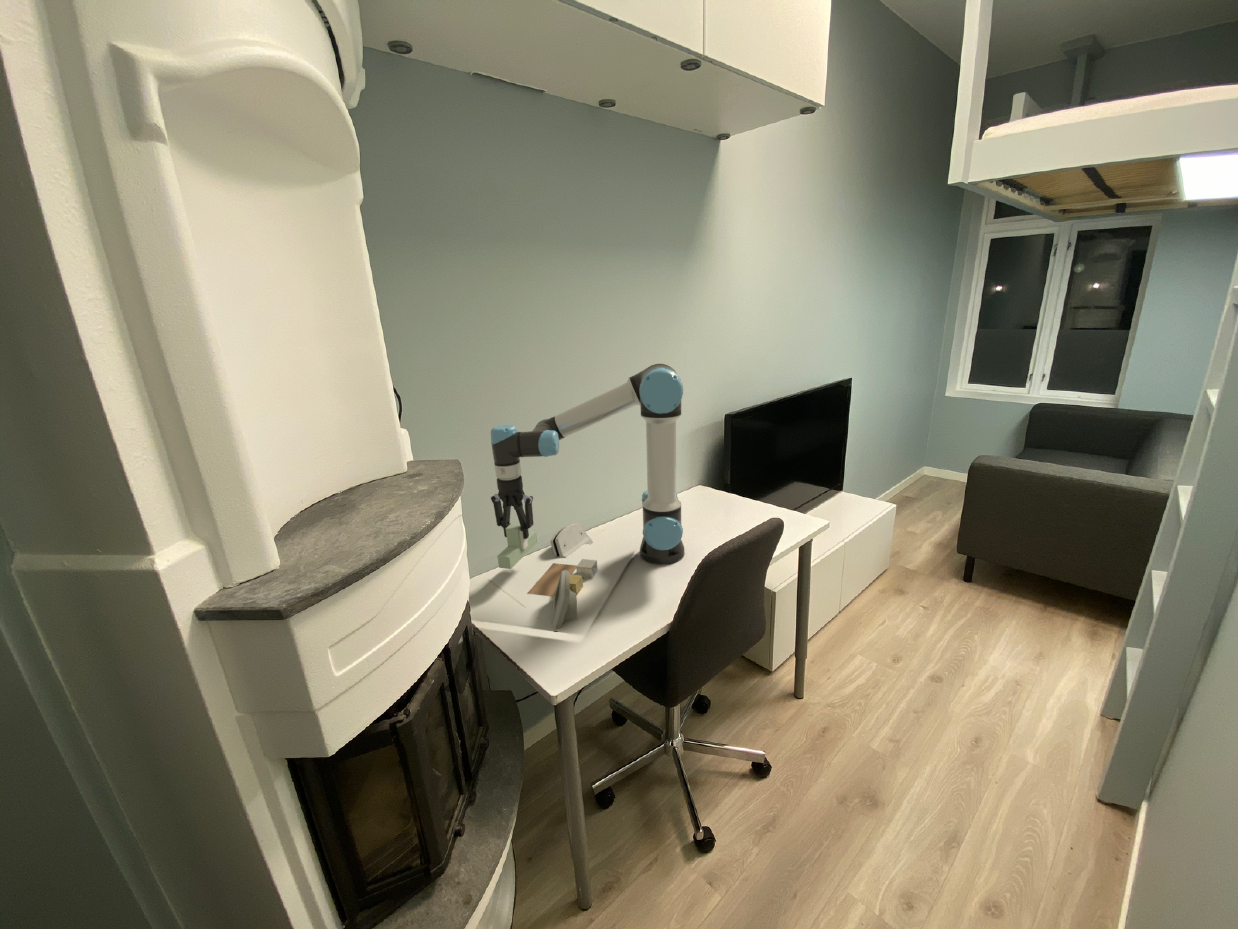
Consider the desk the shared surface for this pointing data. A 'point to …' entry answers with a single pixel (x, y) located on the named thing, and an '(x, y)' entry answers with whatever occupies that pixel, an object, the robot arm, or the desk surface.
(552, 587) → the deck
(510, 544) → the stepped sage beam
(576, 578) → the mustard yellow cube
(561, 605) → the grey picture frame
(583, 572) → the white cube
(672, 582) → the desk surface
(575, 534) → the white curved block
